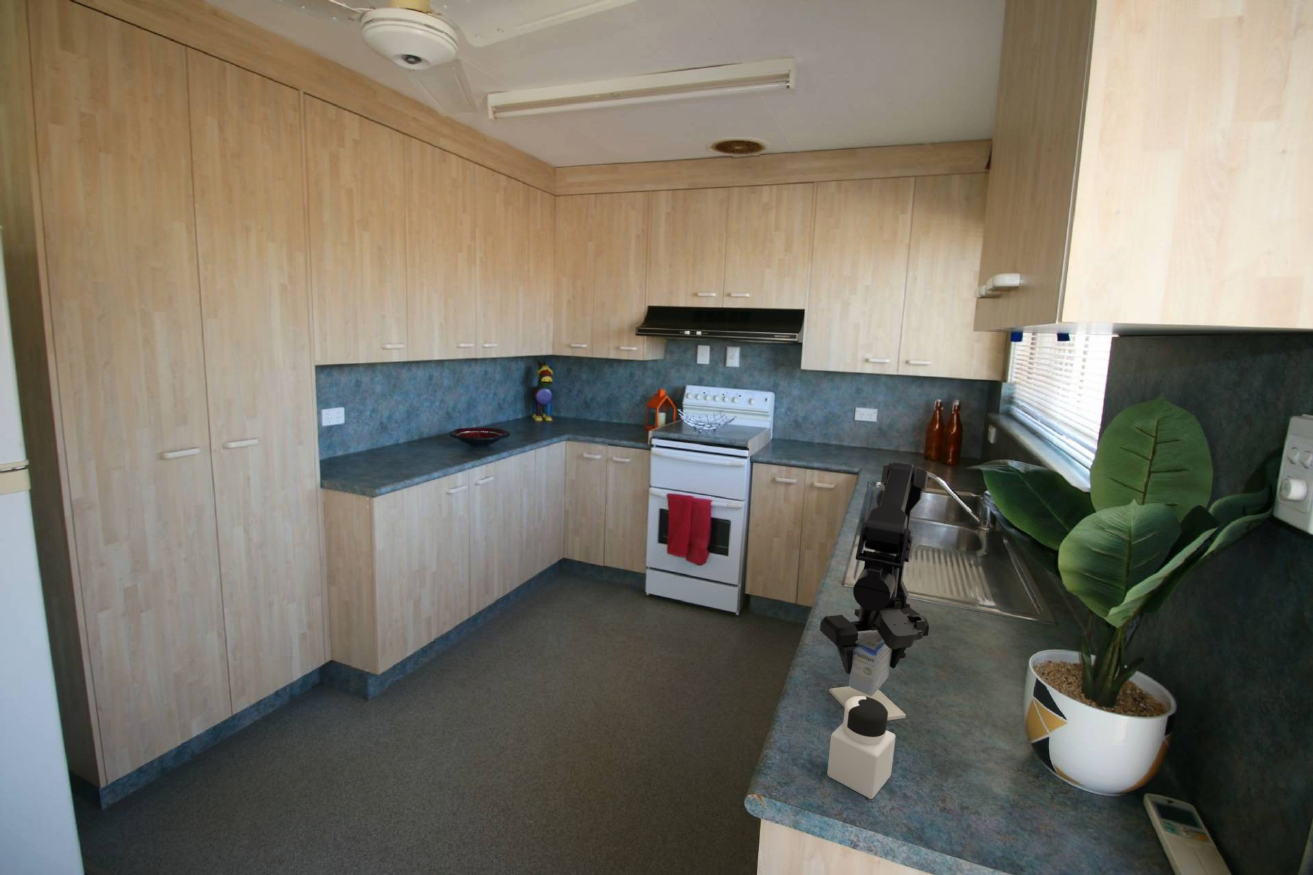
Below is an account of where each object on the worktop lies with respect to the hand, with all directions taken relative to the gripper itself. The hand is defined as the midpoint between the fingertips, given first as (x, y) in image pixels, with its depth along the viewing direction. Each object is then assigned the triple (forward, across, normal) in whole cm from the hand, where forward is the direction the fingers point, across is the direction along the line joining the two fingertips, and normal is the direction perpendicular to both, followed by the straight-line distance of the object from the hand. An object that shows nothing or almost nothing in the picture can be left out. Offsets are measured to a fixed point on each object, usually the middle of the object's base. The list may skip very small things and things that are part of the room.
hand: (870, 670), depth 113 cm
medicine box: (+3, 0, 0) cm, 3 cm away
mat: (+7, 0, 0) cm, 7 cm away
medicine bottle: (+7, -12, -16) cm, 21 cm away
